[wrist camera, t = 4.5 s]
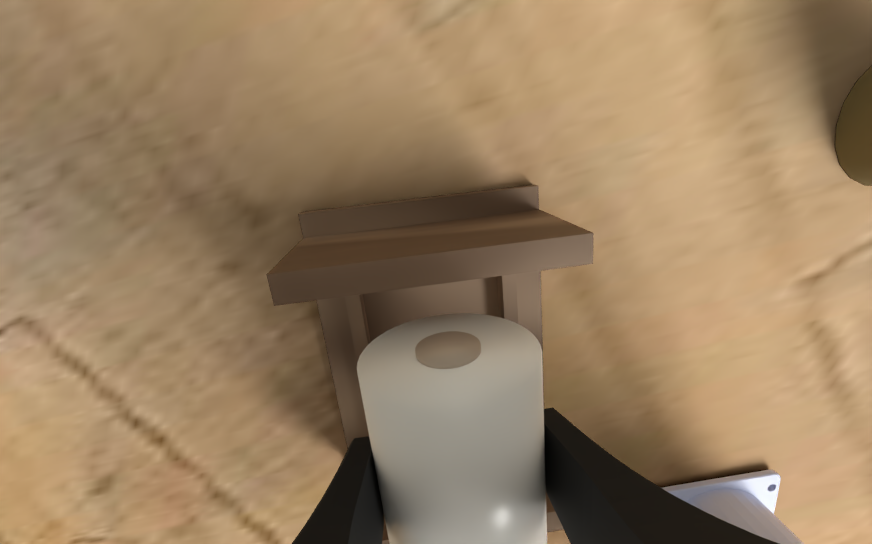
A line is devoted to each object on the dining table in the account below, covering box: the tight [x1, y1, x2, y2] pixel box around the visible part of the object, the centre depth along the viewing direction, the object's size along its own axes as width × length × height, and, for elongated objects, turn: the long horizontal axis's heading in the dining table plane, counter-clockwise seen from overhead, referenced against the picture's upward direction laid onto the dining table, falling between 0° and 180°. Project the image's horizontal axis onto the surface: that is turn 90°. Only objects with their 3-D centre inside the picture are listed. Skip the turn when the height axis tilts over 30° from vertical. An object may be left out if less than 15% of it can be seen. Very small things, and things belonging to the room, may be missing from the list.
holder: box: [267, 185, 593, 544], centre depth 17 cm, size 14×10×6 cm
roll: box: [357, 313, 547, 544], centre depth 12 cm, size 7×5×5 cm
